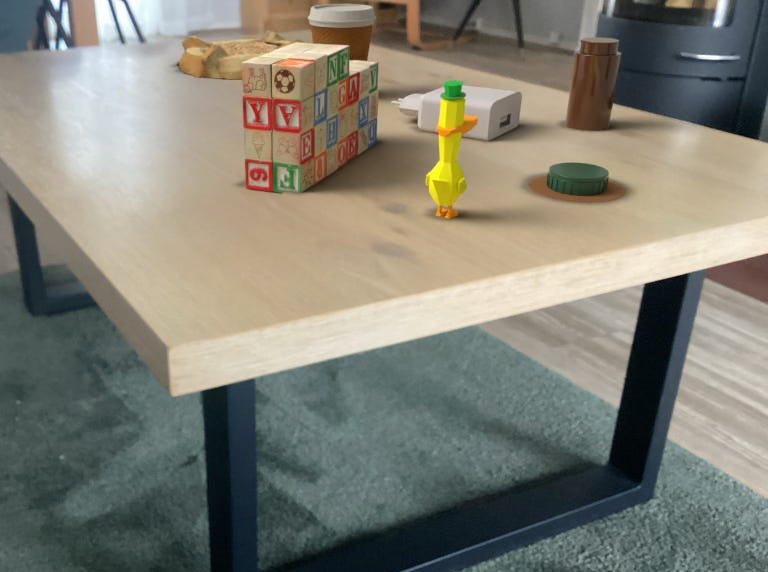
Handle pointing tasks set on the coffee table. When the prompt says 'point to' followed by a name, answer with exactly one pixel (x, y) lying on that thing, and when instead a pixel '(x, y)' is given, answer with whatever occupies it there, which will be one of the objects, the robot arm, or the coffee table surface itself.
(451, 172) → the toy figure
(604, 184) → the lid
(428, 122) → the charger
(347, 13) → the disposable coffee cup
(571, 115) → the jar
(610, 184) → the coaster
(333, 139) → the stack of blocks
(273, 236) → the coffee table surface
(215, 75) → the tan flat lumpy slab
